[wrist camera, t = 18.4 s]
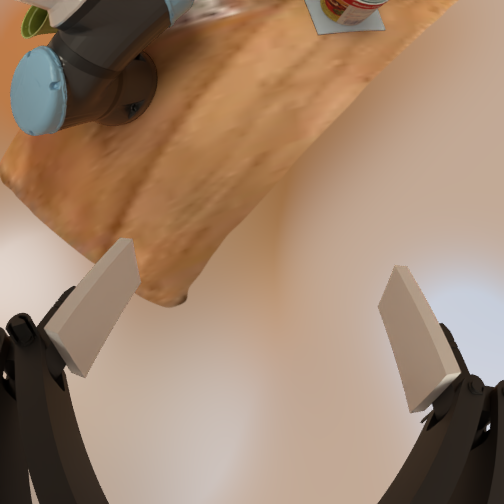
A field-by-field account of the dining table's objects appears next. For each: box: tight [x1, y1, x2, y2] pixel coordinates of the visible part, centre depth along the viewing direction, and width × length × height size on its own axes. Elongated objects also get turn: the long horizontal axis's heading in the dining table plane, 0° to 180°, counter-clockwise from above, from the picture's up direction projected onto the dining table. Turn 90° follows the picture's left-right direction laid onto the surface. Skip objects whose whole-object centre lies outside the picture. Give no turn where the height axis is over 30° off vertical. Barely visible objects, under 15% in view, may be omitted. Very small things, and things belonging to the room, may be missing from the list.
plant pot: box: [21, 5, 59, 39], centre depth 24 cm, size 9×9×9 cm
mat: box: [304, 0, 385, 35], centre depth 27 cm, size 12×10×1 cm
